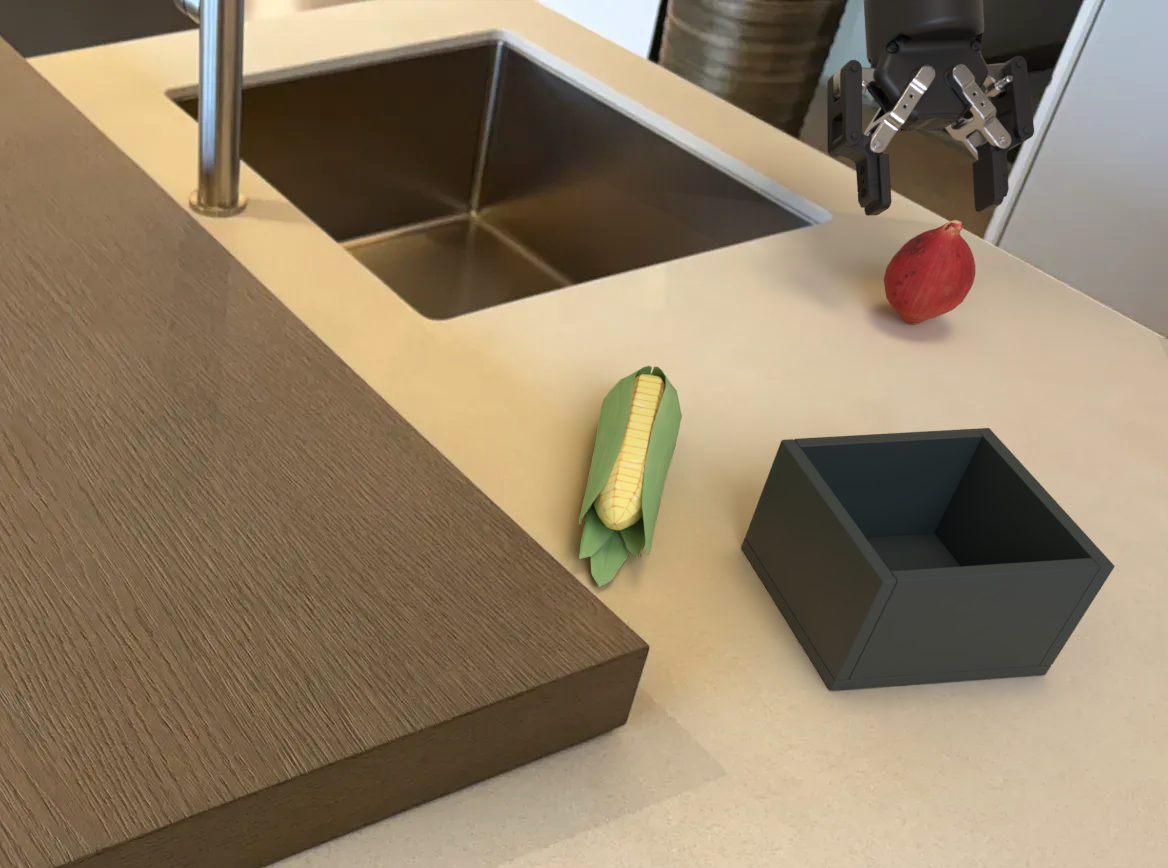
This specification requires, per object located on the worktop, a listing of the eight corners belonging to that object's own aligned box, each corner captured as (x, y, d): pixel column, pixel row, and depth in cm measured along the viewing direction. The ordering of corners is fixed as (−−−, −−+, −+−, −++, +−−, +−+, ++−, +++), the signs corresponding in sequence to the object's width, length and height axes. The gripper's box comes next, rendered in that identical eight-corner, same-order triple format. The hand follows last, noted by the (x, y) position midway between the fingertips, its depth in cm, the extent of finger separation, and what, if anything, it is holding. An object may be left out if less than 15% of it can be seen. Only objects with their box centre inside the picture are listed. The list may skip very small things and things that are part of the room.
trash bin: (935, 534, 84) (989, 427, 78) (1045, 675, 75) (1115, 566, 70) (740, 547, 83) (781, 439, 77) (829, 691, 74) (883, 581, 69)
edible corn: (678, 421, 92) (696, 362, 89) (642, 603, 79) (662, 541, 76) (601, 406, 93) (617, 347, 90) (554, 582, 80) (570, 521, 77)
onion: (872, 336, 101) (914, 233, 95) (865, 298, 104) (905, 197, 99) (955, 347, 100) (1003, 243, 94) (945, 308, 104) (990, 207, 98)
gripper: (856, -42, 94) (871, 194, 94) (1050, -46, 95) (1063, 187, 95) (799, 13, 101) (812, 232, 101) (979, 8, 102) (992, 224, 103)
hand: (934, 210), depth 98 cm, fingers open, 8 cm apart
